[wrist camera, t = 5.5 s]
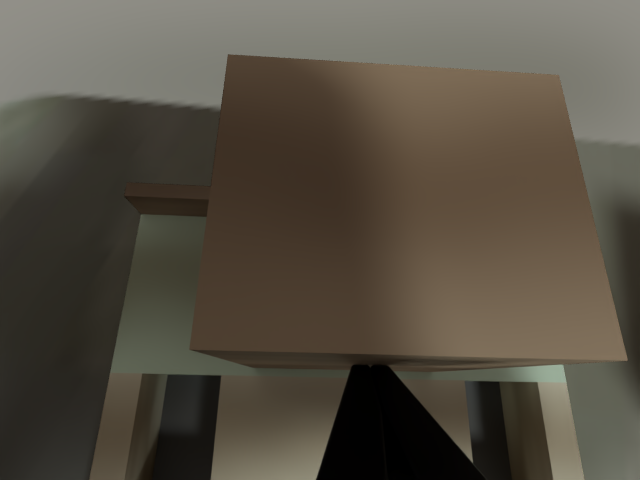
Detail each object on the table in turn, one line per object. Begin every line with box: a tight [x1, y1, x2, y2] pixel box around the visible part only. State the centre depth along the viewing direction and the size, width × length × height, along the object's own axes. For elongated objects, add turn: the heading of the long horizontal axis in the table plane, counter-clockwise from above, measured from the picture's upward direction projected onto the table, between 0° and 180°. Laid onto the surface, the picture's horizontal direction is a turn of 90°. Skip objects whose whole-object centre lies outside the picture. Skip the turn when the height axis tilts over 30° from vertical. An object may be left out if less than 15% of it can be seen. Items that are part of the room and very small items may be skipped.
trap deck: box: [89, 182, 584, 480], centre depth 13 cm, size 13×15×4 cm
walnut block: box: [189, 55, 628, 372], centre depth 10 cm, size 5×6×8 cm
